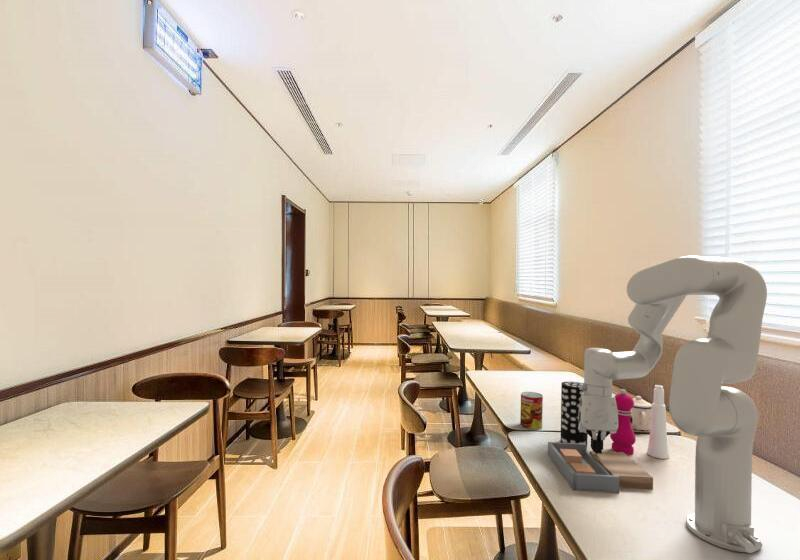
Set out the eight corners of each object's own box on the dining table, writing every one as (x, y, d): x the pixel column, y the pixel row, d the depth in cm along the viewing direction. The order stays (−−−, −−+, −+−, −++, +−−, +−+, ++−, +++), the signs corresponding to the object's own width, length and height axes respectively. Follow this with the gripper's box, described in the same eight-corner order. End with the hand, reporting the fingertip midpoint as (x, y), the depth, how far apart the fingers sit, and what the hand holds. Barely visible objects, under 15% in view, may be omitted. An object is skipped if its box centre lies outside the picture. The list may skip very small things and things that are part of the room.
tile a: (576, 470, 109) (575, 480, 109) (595, 472, 108) (595, 481, 108) (570, 462, 114) (569, 471, 114) (588, 463, 113) (588, 472, 113)
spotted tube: (559, 445, 134) (560, 385, 134) (561, 437, 141) (562, 380, 142) (586, 451, 130) (587, 388, 130) (588, 442, 138) (588, 383, 138)
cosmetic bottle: (654, 449, 132) (655, 382, 133) (673, 457, 127) (674, 387, 127) (642, 452, 130) (643, 384, 130) (661, 460, 124) (662, 388, 125)
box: (619, 492, 104) (619, 477, 104) (573, 490, 105) (573, 474, 105) (585, 456, 126) (585, 443, 126) (547, 454, 127) (548, 441, 127)
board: (653, 488, 106) (653, 477, 106) (613, 486, 107) (614, 475, 107) (623, 462, 122) (623, 452, 122) (589, 460, 123) (589, 450, 123)
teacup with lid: (621, 421, 160) (622, 392, 160) (647, 424, 157) (648, 394, 157) (630, 432, 148) (630, 400, 148) (658, 435, 146) (658, 403, 146)
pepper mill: (638, 456, 127) (639, 392, 127) (613, 454, 128) (614, 391, 128) (630, 447, 134) (631, 387, 134) (607, 445, 135) (608, 385, 135)
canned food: (516, 423, 155) (516, 392, 155) (533, 421, 157) (534, 391, 157) (528, 430, 147) (529, 397, 148) (546, 428, 150) (547, 396, 150)
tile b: (564, 455, 119) (564, 464, 119) (582, 456, 118) (581, 464, 118) (559, 448, 124) (559, 456, 124) (576, 449, 123) (575, 457, 123)
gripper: (576, 392, 117) (575, 455, 117) (630, 394, 116) (629, 458, 116) (567, 385, 124) (566, 445, 124) (618, 387, 123) (617, 448, 123)
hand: (596, 451), depth 120 cm, fingers closed
